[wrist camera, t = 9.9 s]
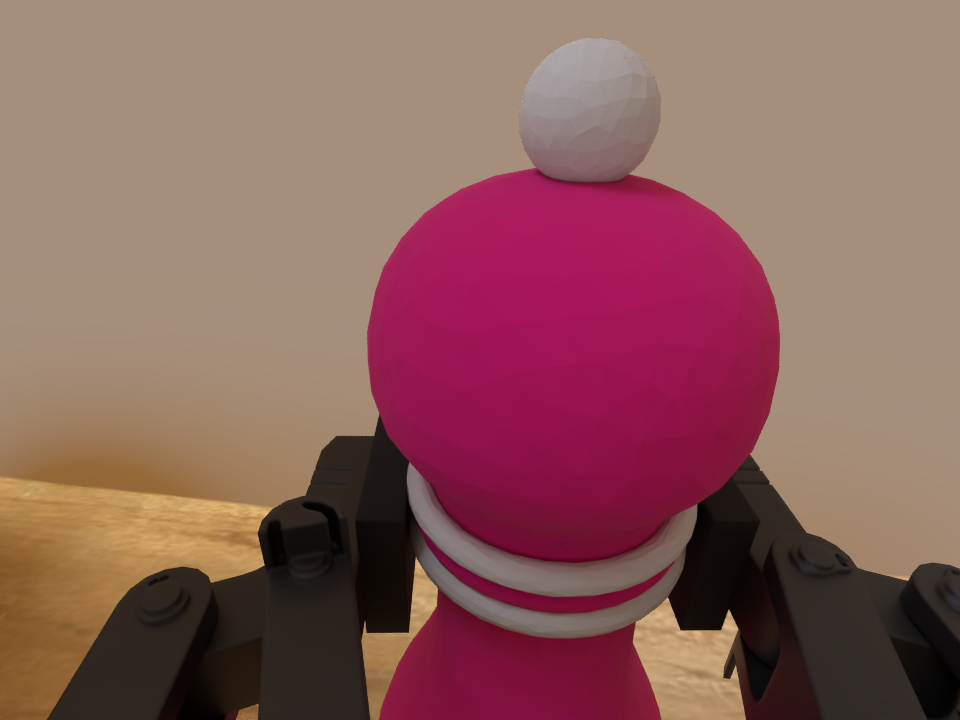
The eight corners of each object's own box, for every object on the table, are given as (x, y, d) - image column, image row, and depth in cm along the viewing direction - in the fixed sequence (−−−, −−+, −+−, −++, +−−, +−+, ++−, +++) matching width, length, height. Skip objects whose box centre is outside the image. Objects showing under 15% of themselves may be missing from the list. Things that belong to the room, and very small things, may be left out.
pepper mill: (418, 688, 20) (392, 39, 10) (626, 723, 19) (806, 51, 9) (345, 980, 14) (102, 7, 4) (650, 1052, 13) (1269, 32, 3)
